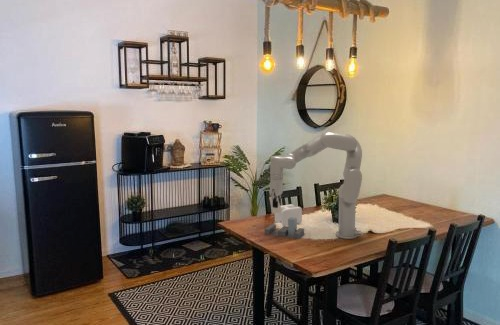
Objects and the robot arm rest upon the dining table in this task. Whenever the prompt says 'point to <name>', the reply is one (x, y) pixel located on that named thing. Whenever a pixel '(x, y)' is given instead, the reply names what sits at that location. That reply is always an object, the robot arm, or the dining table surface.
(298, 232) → the grey blocky pieces
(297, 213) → the cable organizer
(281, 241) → the dining table surface
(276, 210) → the cream plug
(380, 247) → the dining table surface
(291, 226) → the slate plug
